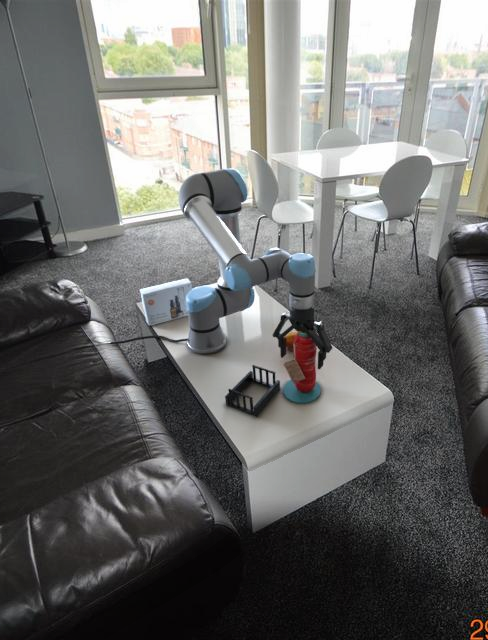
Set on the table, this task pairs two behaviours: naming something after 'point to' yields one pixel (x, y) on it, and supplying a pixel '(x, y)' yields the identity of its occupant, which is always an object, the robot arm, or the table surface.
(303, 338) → the water bottle
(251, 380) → the rack
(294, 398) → the mat
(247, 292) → the robot arm
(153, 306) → the skincare box
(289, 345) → the fruit
